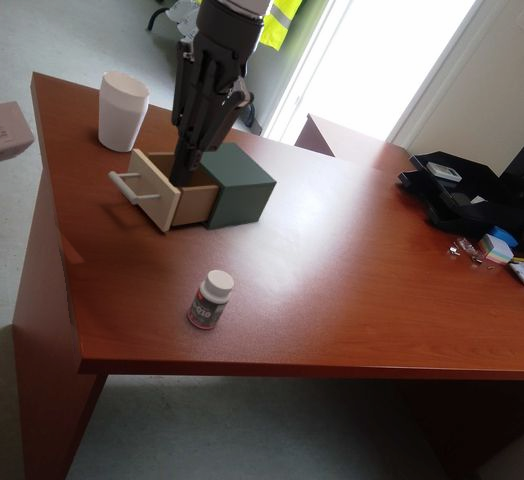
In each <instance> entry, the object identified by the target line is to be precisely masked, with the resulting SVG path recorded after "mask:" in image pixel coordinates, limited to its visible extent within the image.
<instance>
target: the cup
mask: <svg viewBox="0 0 524 480" xmlns="http://www.w3.org/2000/svg"><path fill="white" fill-rule="evenodd" d="M98 95H99V96H98V97H99V98H98V99H99V100H98V140H99V142H100V143H101V144H102V145H103V146H105V147H106V148H108V149H109V150H112V151H114V152H118V153H128V152H131V151H132V150H133V147H134V144H135V142H136V140H137V137H138V135H139V132H140V129H141V127H142V124H143V122H144V119H145V117H146V114H147V111H148V108H149V102H150V96H151V90H150V88H149V87H148V86H147V85H146V84H145V83H144V82H143V81H140V80H139V79H138V78H136V77H134V76H132V75H129V74H126V73H123V72H119V71H112V70H110V71H109V70H108V71H105V72H103V74H102V79H101V83H100V88H99V94H98Z"/></svg>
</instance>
